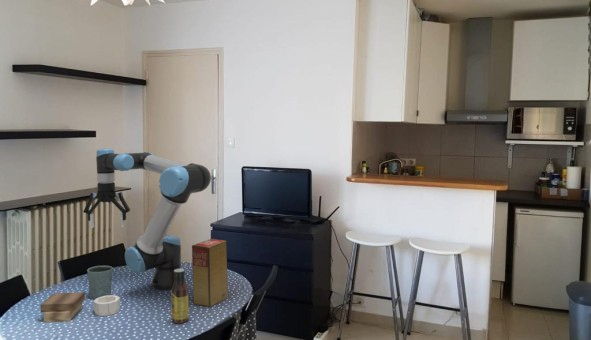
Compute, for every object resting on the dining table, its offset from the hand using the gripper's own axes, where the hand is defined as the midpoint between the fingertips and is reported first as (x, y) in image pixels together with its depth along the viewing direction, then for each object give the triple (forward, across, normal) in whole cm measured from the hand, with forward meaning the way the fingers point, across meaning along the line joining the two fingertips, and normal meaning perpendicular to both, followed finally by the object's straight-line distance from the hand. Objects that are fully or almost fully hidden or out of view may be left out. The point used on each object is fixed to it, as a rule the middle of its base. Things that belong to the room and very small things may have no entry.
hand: (107, 227), depth 213 cm
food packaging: (+27, -49, +27) cm, 62 cm away
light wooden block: (+27, +7, +36) cm, 45 cm away
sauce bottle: (+27, -39, +47) cm, 67 cm away
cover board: (+23, +7, +36) cm, 43 cm away
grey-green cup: (+27, -1, +16) cm, 31 cm away
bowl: (+27, -9, +35) cm, 45 cm away
